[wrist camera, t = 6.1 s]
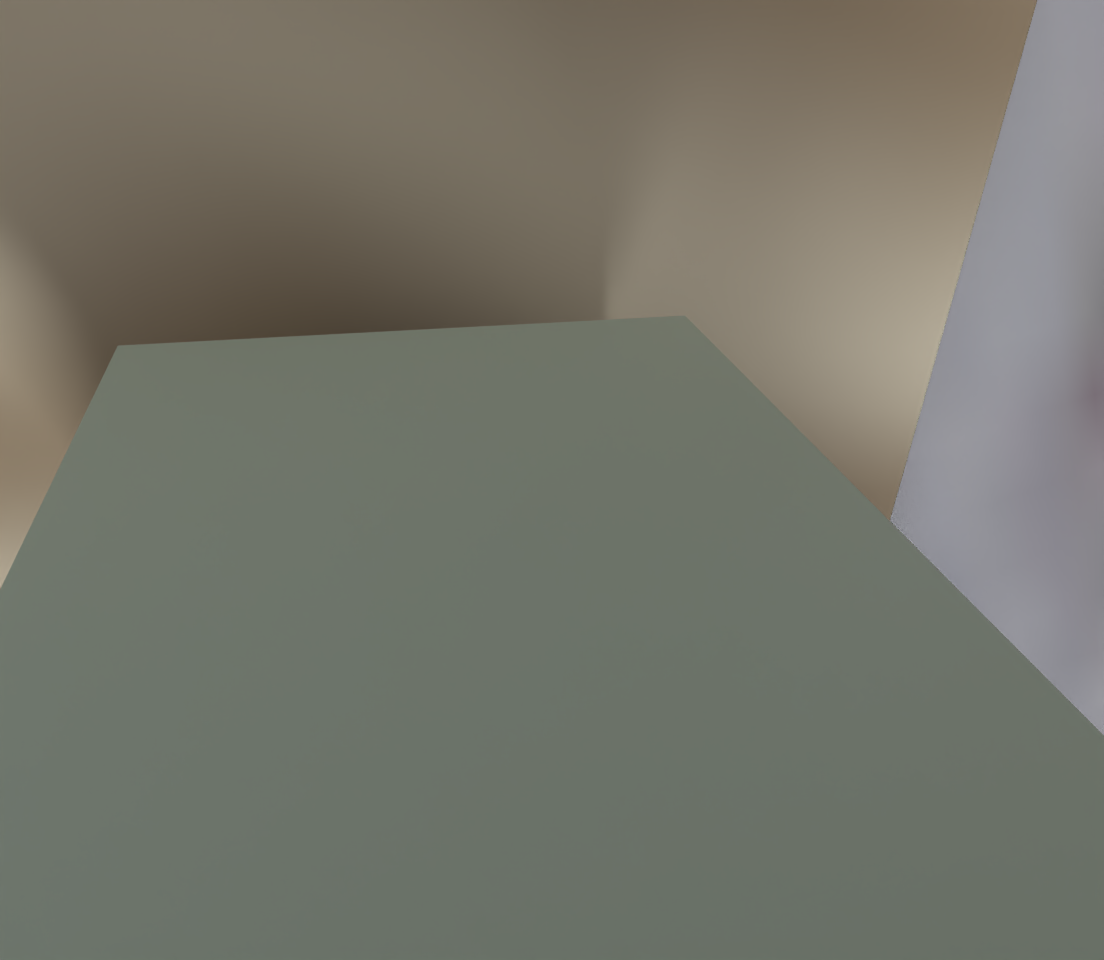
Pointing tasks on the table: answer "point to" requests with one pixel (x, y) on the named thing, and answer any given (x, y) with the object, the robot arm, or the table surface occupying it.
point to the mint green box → (509, 676)
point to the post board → (495, 188)
